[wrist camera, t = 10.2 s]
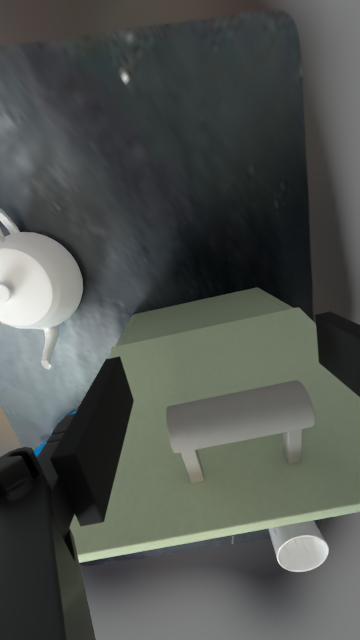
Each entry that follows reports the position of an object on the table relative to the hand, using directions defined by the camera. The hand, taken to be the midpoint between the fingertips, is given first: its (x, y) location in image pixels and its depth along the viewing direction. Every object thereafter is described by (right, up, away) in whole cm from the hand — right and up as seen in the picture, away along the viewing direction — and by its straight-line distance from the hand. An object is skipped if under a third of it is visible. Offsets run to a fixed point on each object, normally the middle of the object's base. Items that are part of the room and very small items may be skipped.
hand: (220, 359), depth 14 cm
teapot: (-21, +7, +24) cm, 33 cm away
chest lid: (+1, -3, +5) cm, 6 cm away
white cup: (+16, -31, +36) cm, 50 cm away
